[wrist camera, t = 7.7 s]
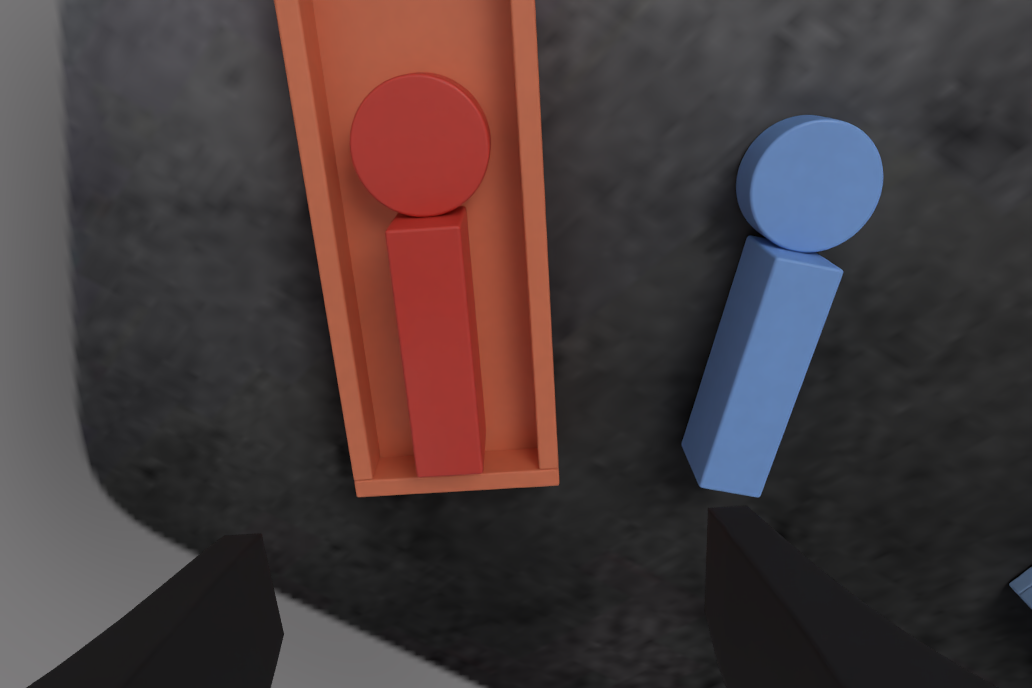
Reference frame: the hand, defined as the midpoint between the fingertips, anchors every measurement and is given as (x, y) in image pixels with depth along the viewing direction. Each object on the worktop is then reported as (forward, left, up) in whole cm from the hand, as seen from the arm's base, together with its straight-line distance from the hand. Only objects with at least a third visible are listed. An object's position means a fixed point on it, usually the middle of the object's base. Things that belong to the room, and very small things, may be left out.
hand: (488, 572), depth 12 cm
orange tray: (+4, +2, -8) cm, 9 cm away
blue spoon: (+2, -7, -8) cm, 11 cm away
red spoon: (+3, +1, -8) cm, 8 cm away
